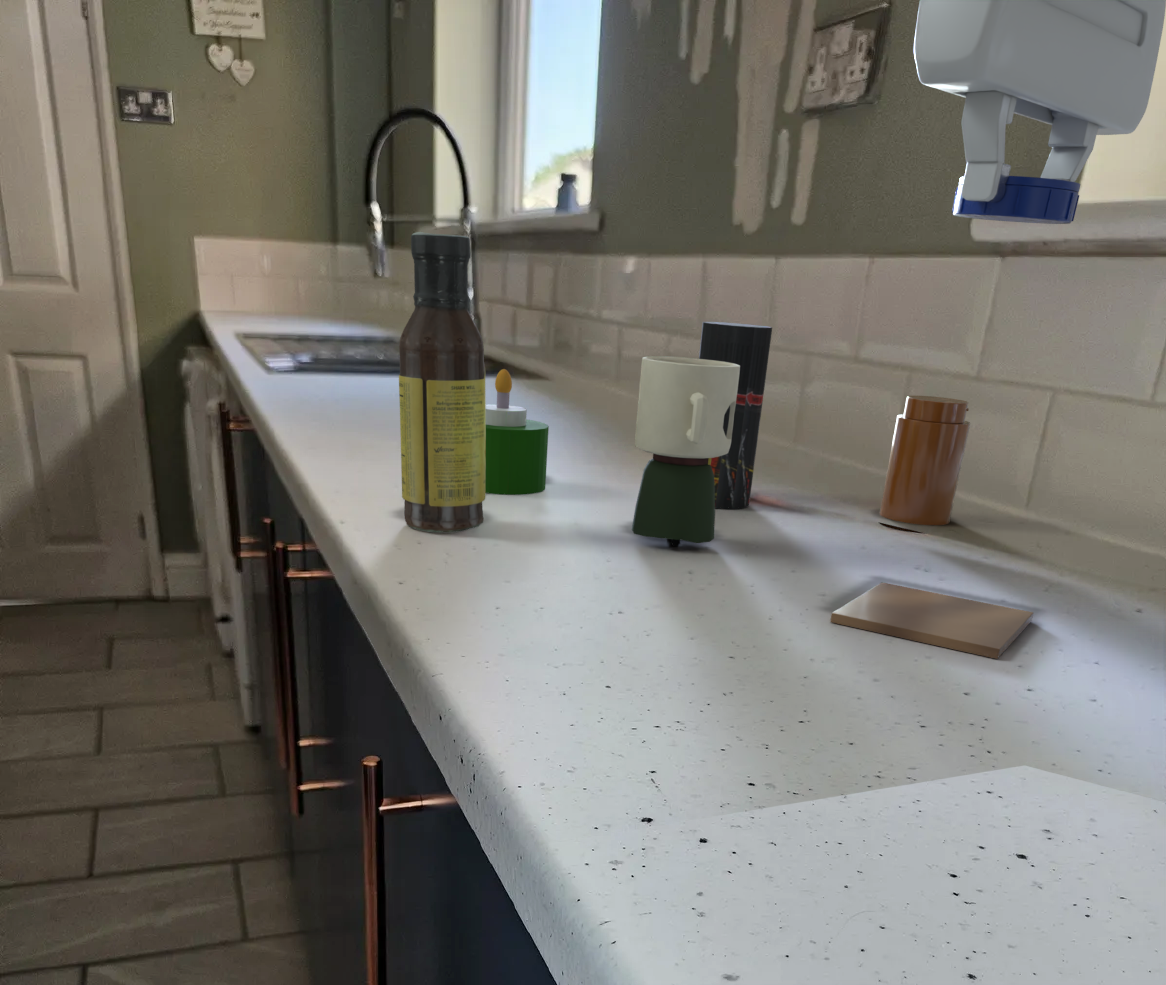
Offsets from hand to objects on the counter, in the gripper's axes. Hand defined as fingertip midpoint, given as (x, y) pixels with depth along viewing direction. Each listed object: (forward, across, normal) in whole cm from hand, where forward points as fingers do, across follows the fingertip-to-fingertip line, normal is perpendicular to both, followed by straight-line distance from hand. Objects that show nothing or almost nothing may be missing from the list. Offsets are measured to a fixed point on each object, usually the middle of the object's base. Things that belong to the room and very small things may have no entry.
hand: (1014, 208), depth 61 cm
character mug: (+23, +1, -22) cm, 32 cm away
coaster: (+23, +2, +2) cm, 23 cm away
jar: (+23, -24, -16) cm, 37 cm away
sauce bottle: (+23, +14, -34) cm, 43 cm away
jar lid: (-1, 0, 0) cm, 1 cm away
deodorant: (+23, -15, -30) cm, 41 cm away
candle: (+23, -1, -44) cm, 50 cm away
